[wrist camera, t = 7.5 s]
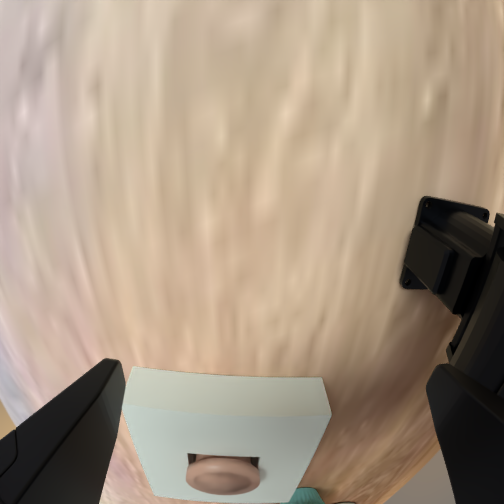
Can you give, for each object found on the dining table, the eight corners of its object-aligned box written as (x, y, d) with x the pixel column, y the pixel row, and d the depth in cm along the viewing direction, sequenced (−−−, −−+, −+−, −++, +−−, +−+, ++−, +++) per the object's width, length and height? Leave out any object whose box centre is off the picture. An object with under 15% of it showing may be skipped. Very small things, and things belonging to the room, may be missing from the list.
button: (261, 431, 25) (264, 468, 21) (254, 463, 27) (256, 495, 24) (187, 427, 24) (183, 464, 21) (191, 460, 27) (188, 492, 23)
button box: (321, 377, 24) (331, 414, 20) (285, 474, 31) (288, 502, 27) (133, 366, 23) (120, 403, 19) (158, 468, 30) (154, 495, 26)
